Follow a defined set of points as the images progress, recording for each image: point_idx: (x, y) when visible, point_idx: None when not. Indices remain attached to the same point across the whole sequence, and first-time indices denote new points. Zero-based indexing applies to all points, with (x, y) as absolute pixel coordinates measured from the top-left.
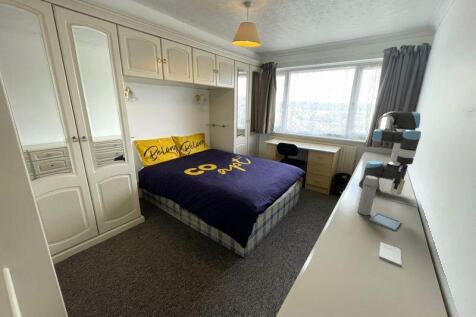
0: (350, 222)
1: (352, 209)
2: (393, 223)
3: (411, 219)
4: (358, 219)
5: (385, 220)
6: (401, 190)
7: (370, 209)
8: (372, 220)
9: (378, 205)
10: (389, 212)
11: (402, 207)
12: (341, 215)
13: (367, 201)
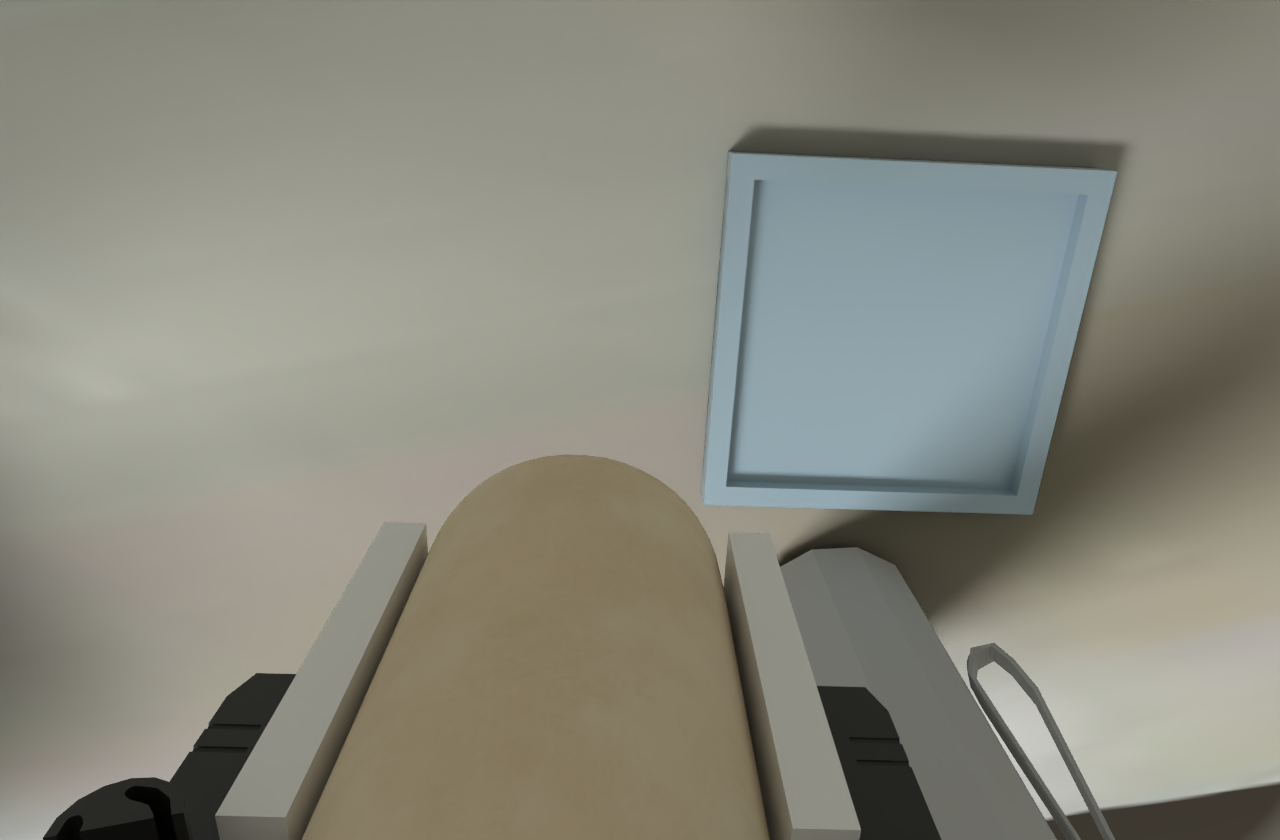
0: (1249, 631)
1: None
2: (879, 235)
3: (408, 37)
4: (1091, 594)
5: (868, 344)
6: (632, 541)
7: (888, 599)
8: (1038, 471)
9: (351, 537)
10: (466, 362)
11: (9, 247)
12: (1133, 750)
13: (1074, 766)
